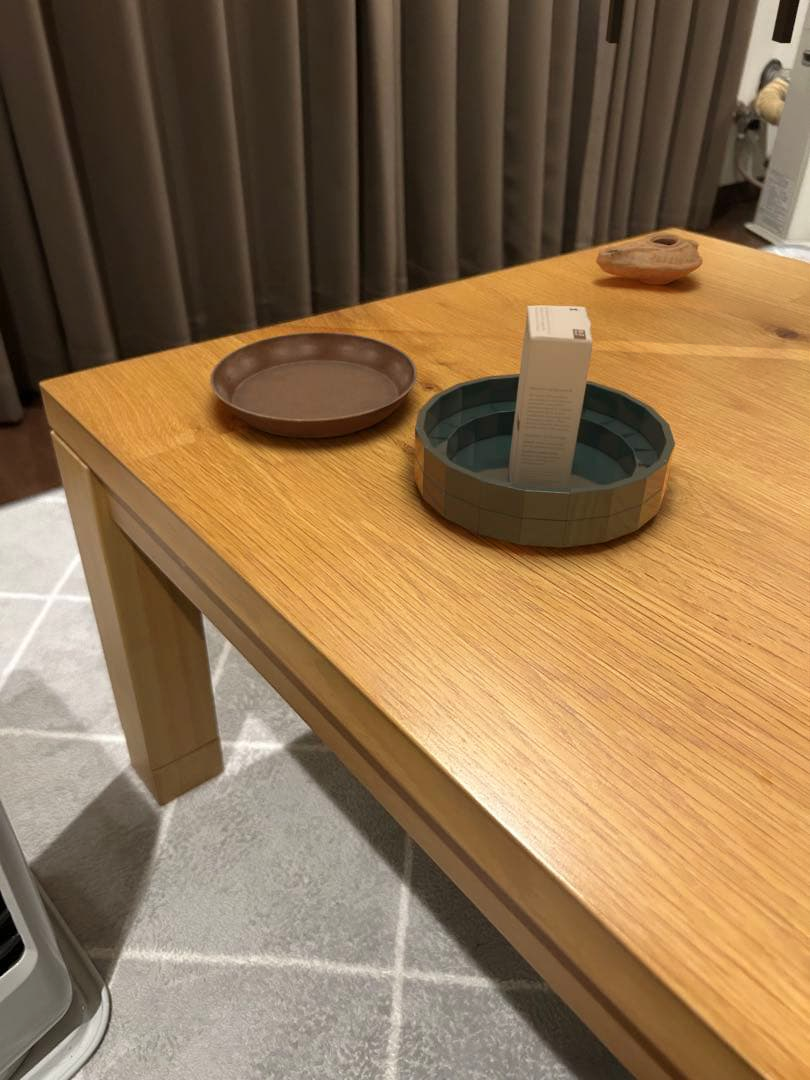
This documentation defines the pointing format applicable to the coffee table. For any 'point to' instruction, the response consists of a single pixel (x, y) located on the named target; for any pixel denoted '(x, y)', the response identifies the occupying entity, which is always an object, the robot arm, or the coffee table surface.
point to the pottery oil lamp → (652, 258)
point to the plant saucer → (314, 383)
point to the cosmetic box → (550, 395)
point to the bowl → (538, 512)
